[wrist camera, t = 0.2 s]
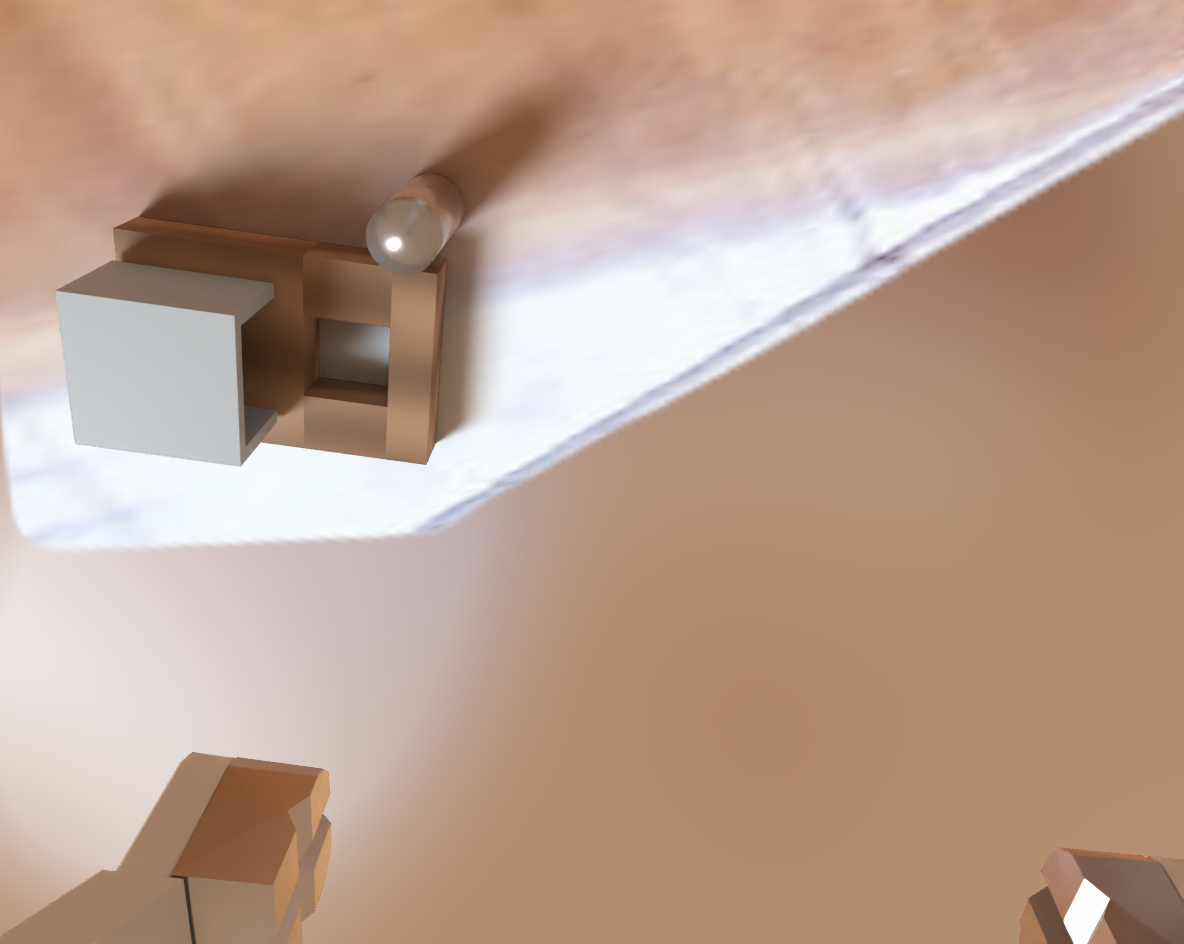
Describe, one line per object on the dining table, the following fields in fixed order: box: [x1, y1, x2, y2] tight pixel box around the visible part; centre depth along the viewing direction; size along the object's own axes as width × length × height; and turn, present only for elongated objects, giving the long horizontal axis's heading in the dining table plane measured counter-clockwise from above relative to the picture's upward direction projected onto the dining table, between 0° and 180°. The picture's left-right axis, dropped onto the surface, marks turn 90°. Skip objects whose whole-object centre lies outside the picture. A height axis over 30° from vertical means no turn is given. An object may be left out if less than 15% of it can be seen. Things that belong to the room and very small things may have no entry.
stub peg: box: [366, 173, 464, 275], centre depth 51 cm, size 4×4×8 cm
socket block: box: [113, 217, 447, 465], centre depth 57 cm, size 12×18×3 cm, turn 83°
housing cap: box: [55, 261, 277, 467], centre depth 53 cm, size 9×9×6 cm
